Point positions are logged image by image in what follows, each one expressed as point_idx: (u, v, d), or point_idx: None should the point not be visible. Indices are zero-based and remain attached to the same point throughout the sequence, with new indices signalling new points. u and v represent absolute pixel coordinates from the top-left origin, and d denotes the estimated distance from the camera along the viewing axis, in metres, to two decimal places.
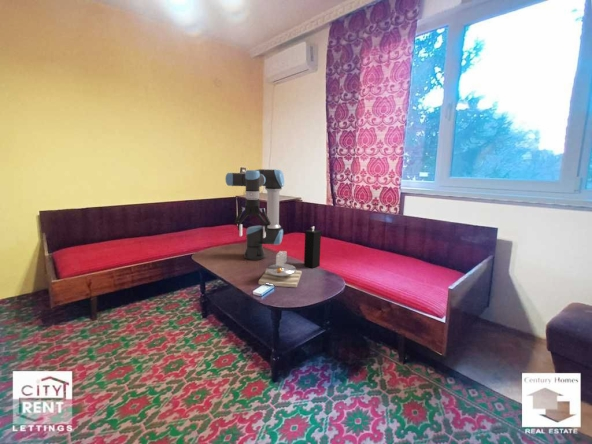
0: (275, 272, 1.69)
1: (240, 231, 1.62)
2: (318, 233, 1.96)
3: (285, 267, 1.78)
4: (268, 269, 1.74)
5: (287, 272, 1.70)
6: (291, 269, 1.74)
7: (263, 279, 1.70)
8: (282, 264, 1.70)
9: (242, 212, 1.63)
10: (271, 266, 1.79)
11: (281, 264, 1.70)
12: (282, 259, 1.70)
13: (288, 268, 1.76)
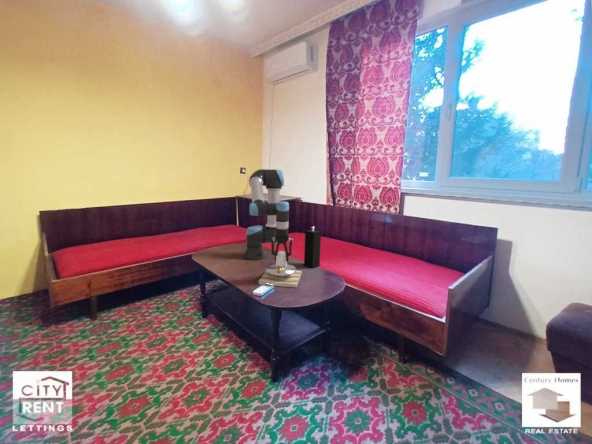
0: (275, 272, 1.69)
1: None
2: (318, 233, 1.96)
3: (285, 267, 1.78)
4: (268, 269, 1.74)
5: (287, 272, 1.70)
6: (291, 269, 1.74)
7: (263, 279, 1.70)
8: (282, 264, 1.70)
9: (274, 242, 1.75)
10: (271, 266, 1.79)
11: (281, 264, 1.70)
12: (282, 259, 1.70)
13: (288, 268, 1.76)
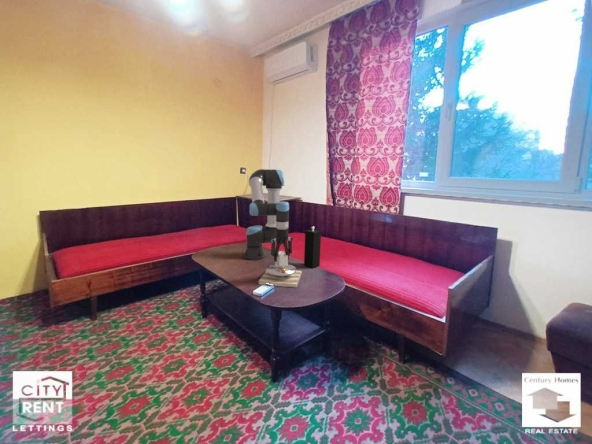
0: (280, 273, 1.69)
1: None
2: (318, 233, 1.96)
3: (283, 267, 1.79)
4: (270, 271, 1.71)
5: (291, 271, 1.72)
6: (291, 268, 1.76)
7: (263, 279, 1.70)
8: (285, 264, 1.71)
9: None
10: (269, 267, 1.77)
11: (284, 264, 1.71)
12: (285, 259, 1.70)
13: (287, 267, 1.78)
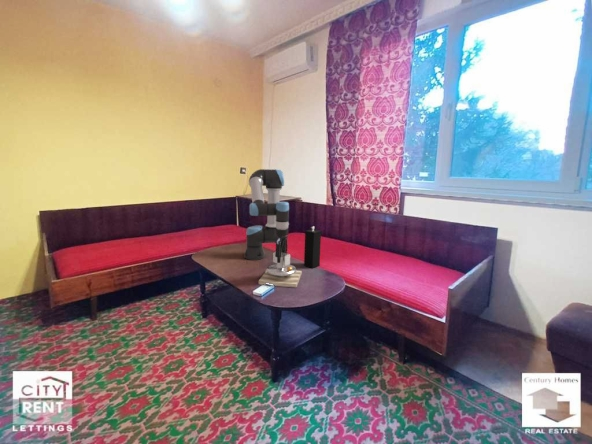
0: (287, 272, 1.70)
1: (281, 263, 1.72)
2: (318, 233, 1.96)
3: None
4: (276, 272, 1.69)
5: (293, 269, 1.76)
6: (289, 266, 1.80)
7: (263, 279, 1.70)
8: (289, 262, 1.73)
9: None
10: (270, 270, 1.73)
11: (288, 263, 1.73)
12: (289, 258, 1.72)
13: (284, 266, 1.80)
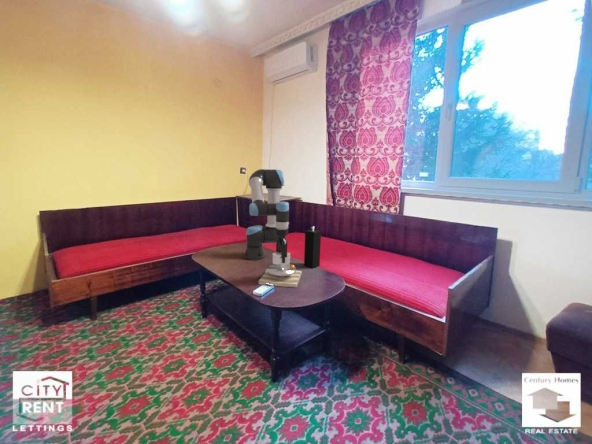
0: (292, 270, 1.74)
1: None
2: (318, 233, 1.96)
3: (277, 267, 1.78)
4: (285, 273, 1.69)
5: None
6: None
7: (263, 279, 1.70)
8: None
9: (282, 245, 1.68)
10: (276, 272, 1.70)
11: None
12: None
13: None
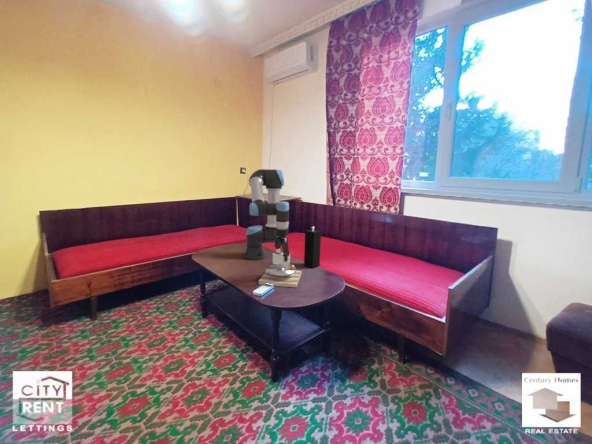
0: (292, 270, 1.74)
1: None
2: (318, 233, 1.96)
3: (277, 267, 1.78)
4: (285, 273, 1.69)
5: None
6: None
7: (263, 279, 1.70)
8: None
9: (283, 244, 1.67)
10: (276, 272, 1.70)
11: None
12: None
13: None
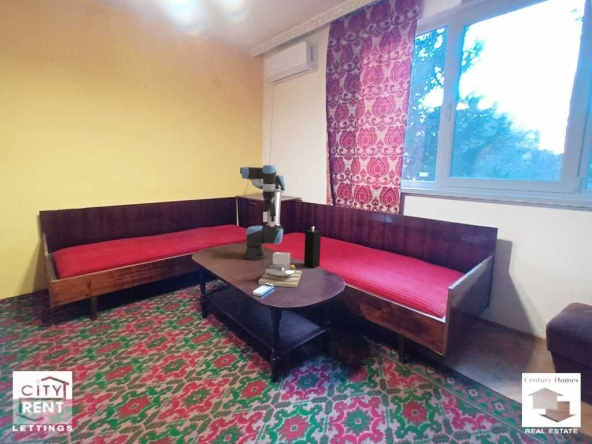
0: (292, 270, 1.74)
1: (274, 221, 1.78)
2: (318, 233, 1.96)
3: (277, 267, 1.78)
4: (285, 273, 1.69)
5: None
6: (283, 265, 1.82)
7: (263, 279, 1.70)
8: None
9: (270, 205, 1.76)
10: (276, 272, 1.70)
11: None
12: None
13: None
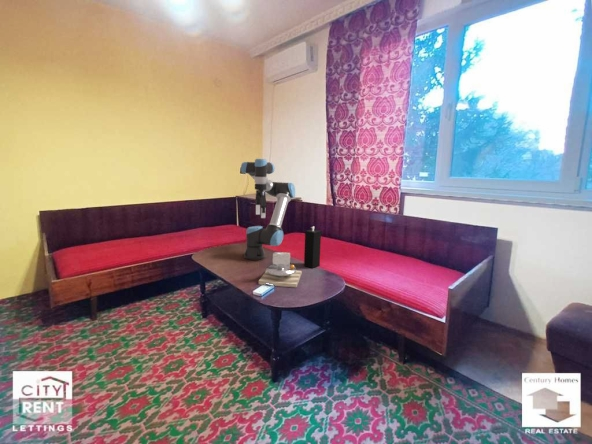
0: (292, 270, 1.74)
1: None
2: (318, 233, 1.96)
3: (277, 267, 1.78)
4: (285, 273, 1.69)
5: None
6: (283, 265, 1.82)
7: (263, 279, 1.70)
8: None
9: (261, 196, 1.82)
10: (276, 272, 1.70)
11: None
12: None
13: None
